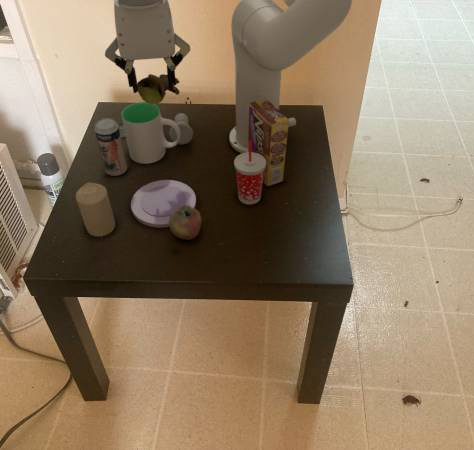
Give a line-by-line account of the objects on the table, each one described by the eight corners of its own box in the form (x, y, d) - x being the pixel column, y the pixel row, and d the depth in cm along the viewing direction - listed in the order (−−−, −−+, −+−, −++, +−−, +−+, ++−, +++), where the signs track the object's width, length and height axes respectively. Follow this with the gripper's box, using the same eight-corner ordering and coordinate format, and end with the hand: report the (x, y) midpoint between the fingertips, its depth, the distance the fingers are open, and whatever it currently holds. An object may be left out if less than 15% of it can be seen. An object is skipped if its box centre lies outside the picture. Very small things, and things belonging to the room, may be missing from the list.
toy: (162, 107, 92) (190, 96, 100) (160, 79, 89) (188, 70, 97) (133, 103, 94) (162, 93, 102) (130, 76, 92) (160, 68, 100)
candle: (84, 220, 94) (71, 181, 87) (113, 213, 96) (102, 174, 88) (88, 240, 91) (75, 201, 84) (117, 232, 92) (107, 193, 85)
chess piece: (187, 120, 107) (187, 104, 115) (165, 128, 108) (166, 112, 115) (196, 140, 111) (196, 123, 118) (175, 148, 111) (175, 131, 119)
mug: (185, 142, 111) (181, 103, 104) (180, 164, 106) (175, 124, 98) (133, 141, 112) (125, 101, 105) (126, 163, 106) (117, 122, 99)
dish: (181, 176, 103) (180, 171, 103) (207, 213, 95) (206, 209, 95) (122, 195, 99) (121, 191, 98) (144, 236, 91) (143, 232, 90)
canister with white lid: (100, 173, 104) (88, 126, 96) (114, 160, 107) (103, 114, 99) (118, 179, 103) (107, 132, 94) (132, 167, 106) (122, 120, 97)
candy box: (284, 181, 102) (290, 119, 91) (267, 187, 101) (270, 125, 90) (264, 158, 108) (266, 97, 97) (247, 163, 106) (247, 102, 95)
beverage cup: (254, 211, 96) (256, 154, 86) (228, 199, 98) (227, 143, 88) (270, 193, 99) (273, 137, 89) (244, 183, 102) (244, 127, 92)
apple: (167, 251, 89) (164, 228, 84) (173, 220, 94) (169, 197, 90) (200, 251, 89) (198, 229, 84) (203, 220, 94) (202, 198, 90)
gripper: (189, -20, 85) (196, 75, 98) (88, -14, 83) (109, 81, 96) (192, -3, 80) (199, 94, 92) (85, 3, 78) (107, 101, 91)
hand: (153, 87), depth 94 cm, fingers closed on toy, 6 cm apart
